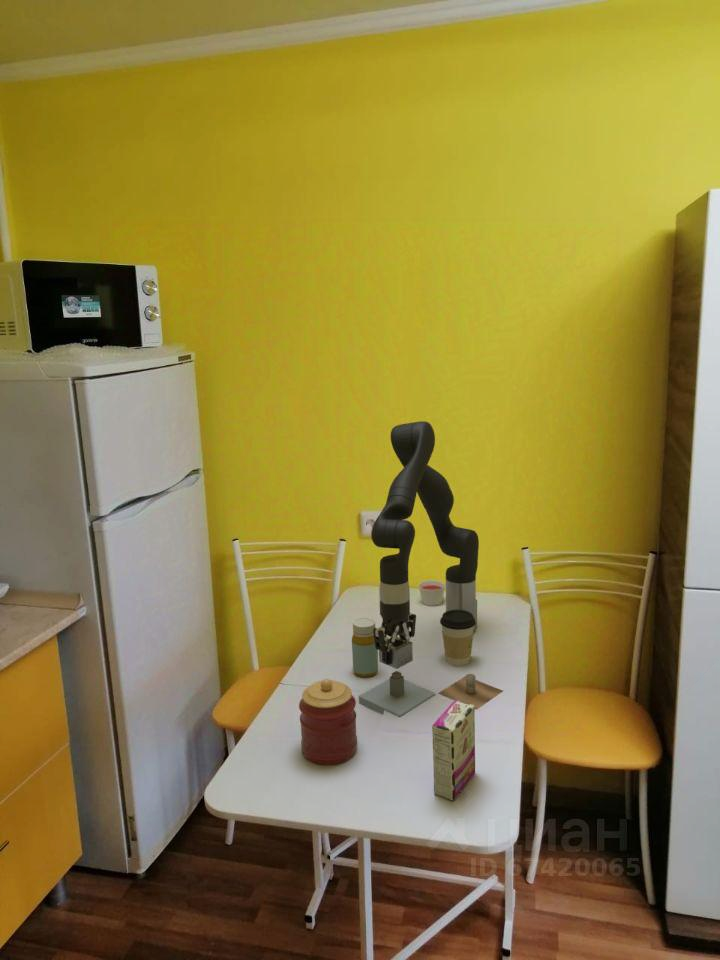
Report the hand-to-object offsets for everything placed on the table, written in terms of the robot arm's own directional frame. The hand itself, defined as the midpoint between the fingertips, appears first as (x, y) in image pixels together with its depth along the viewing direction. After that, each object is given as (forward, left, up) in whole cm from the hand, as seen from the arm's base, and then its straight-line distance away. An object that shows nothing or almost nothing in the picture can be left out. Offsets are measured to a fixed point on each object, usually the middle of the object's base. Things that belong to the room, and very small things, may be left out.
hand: (395, 658), depth 184 cm
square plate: (0, 0, -12) cm, 12 cm away
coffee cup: (-26, 0, -12) cm, 29 cm away
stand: (-14, +13, -12) cm, 23 cm away
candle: (-57, -34, -12) cm, 68 cm away
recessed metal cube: (0, 0, -1) cm, 1 cm away
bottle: (-6, -17, -12) cm, 22 cm away
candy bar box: (+17, +31, -12) cm, 38 cm away
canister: (+26, +2, -12) cm, 29 cm away
